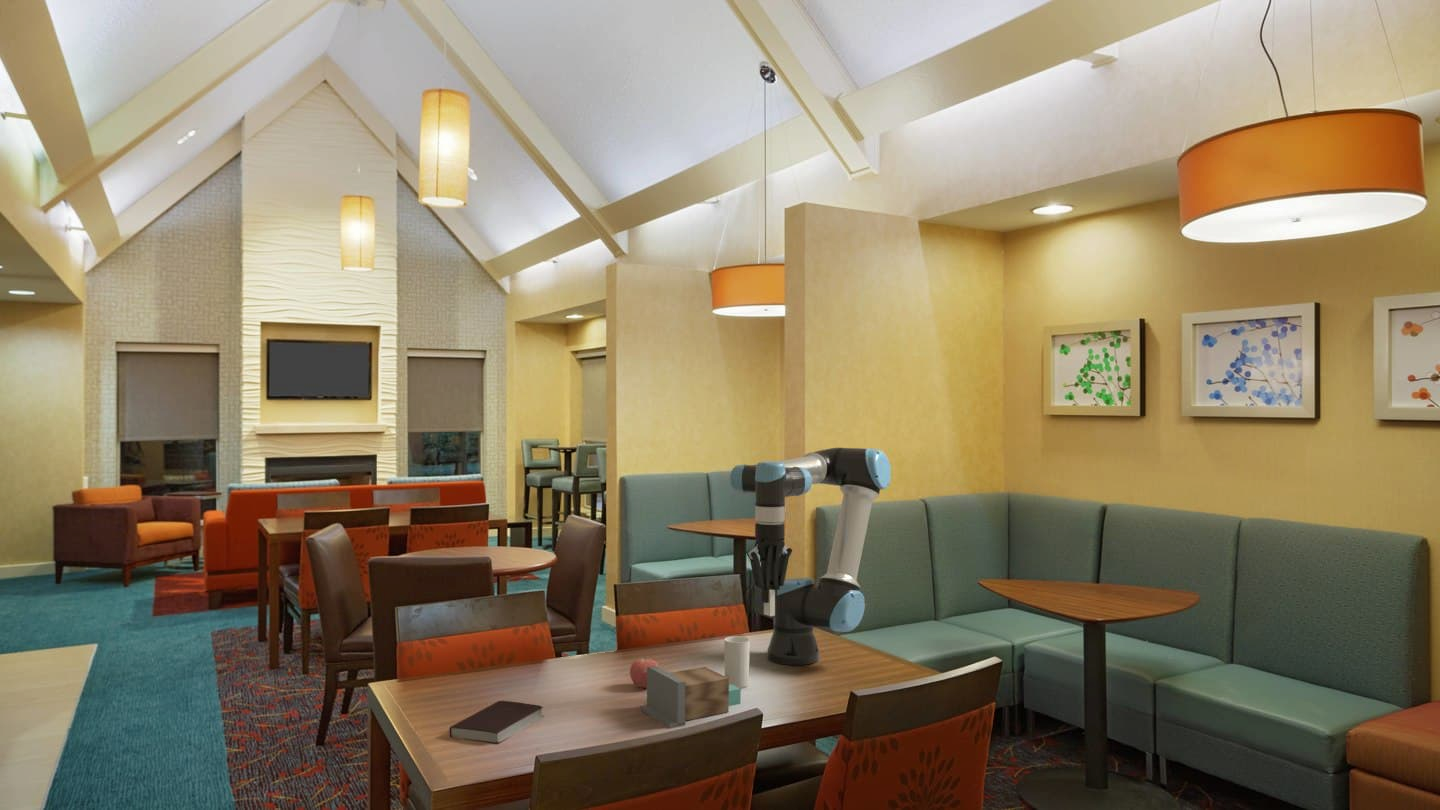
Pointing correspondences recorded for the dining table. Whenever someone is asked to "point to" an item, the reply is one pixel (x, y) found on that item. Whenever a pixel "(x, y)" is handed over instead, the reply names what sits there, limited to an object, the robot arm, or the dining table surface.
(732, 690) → the teal bar
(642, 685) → the apple
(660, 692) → the wall
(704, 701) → the block
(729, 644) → the mug
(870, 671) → the dining table surface
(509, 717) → the book
